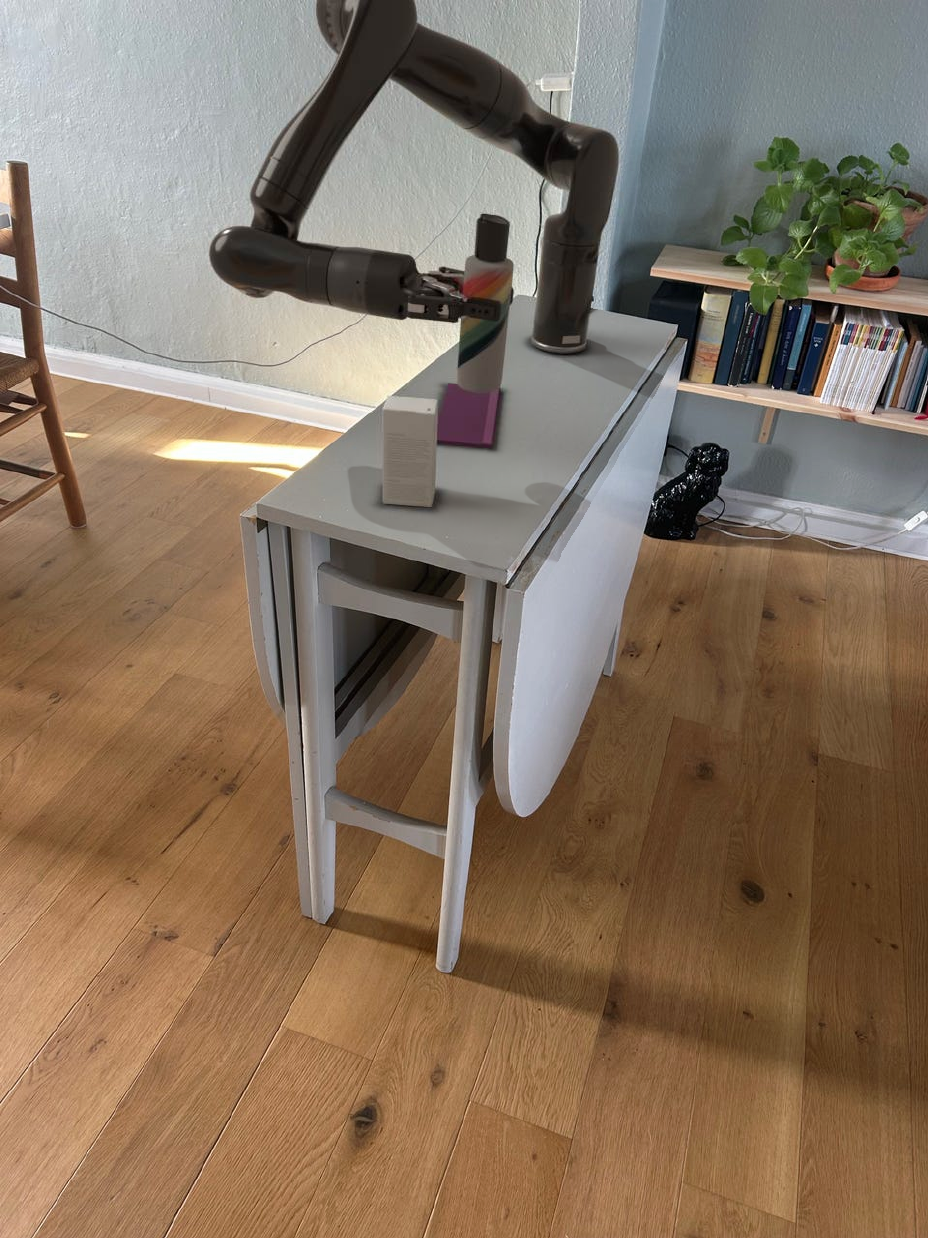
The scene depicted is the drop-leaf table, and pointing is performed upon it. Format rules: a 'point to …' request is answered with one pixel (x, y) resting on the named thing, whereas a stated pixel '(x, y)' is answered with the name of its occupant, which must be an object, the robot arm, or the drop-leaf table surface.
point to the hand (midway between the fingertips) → (506, 303)
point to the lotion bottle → (486, 280)
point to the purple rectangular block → (468, 417)
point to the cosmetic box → (409, 450)
